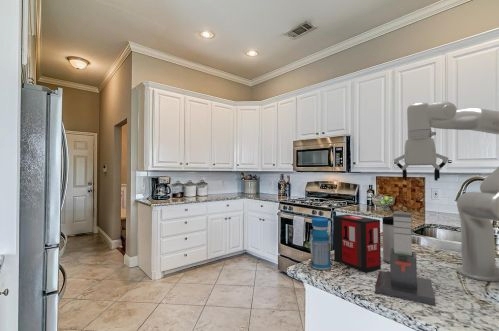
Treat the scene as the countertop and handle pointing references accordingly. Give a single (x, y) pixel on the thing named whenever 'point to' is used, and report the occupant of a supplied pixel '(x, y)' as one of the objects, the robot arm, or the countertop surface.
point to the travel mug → (388, 237)
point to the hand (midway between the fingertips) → (420, 180)
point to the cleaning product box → (357, 242)
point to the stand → (405, 280)
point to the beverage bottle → (320, 244)
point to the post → (402, 233)
